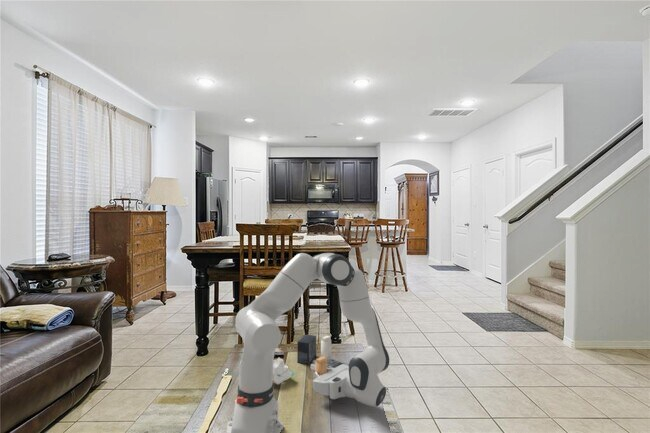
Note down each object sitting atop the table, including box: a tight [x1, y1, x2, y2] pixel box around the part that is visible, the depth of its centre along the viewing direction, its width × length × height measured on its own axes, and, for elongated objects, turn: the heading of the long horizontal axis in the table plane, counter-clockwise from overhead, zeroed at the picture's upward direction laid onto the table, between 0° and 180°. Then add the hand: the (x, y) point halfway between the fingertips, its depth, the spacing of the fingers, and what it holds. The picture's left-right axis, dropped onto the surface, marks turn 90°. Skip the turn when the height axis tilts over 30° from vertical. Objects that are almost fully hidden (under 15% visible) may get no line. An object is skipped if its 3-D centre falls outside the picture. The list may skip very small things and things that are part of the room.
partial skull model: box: [273, 357, 295, 385], centre depth 152 cm, size 12×9×10 cm
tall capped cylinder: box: [314, 356, 327, 379], centre depth 145 cm, size 5×5×12 cm
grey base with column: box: [310, 334, 349, 371], centre depth 161 cm, size 18×11×14 cm, turn 48°
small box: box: [296, 334, 317, 365], centre depth 174 cm, size 11×6×10 cm, turn 162°
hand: (319, 372), depth 146 cm, fingers closed on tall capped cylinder, 5 cm apart
